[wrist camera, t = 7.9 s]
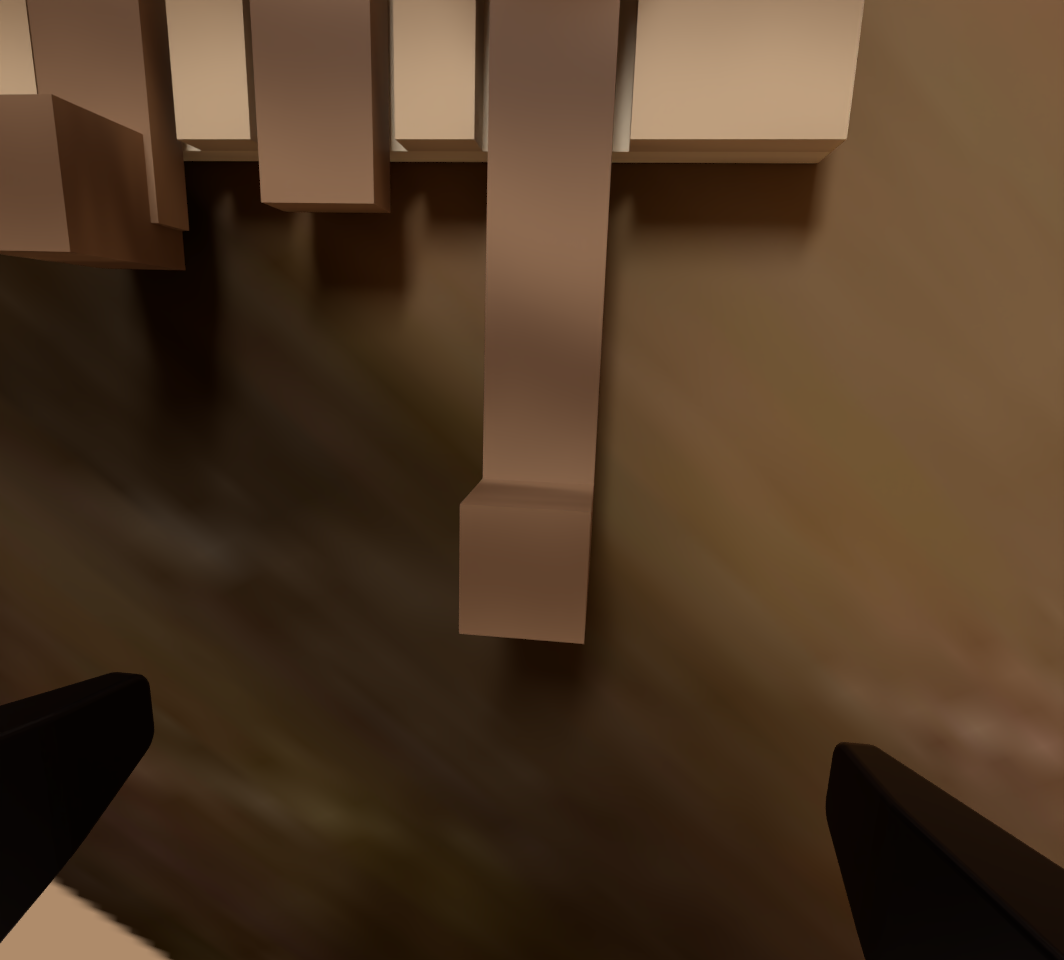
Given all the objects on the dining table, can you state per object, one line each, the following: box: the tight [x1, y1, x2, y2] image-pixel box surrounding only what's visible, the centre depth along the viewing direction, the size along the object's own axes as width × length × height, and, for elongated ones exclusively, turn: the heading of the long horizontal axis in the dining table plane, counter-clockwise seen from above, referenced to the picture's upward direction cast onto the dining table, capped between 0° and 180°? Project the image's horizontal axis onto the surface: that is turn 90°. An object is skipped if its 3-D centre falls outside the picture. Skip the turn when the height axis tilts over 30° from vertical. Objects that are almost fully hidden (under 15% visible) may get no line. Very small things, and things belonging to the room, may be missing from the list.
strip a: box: [459, 0, 620, 644], centre depth 14 cm, size 22×3×4 cm, turn 178°
